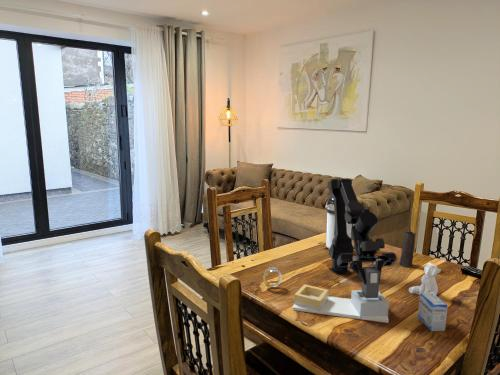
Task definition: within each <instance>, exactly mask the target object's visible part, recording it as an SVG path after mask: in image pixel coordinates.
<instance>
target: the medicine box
mask: <svg viewBox="0 0 500 375" xmlns="http://www.w3.org/2000/svg"><path fill="white" fill-rule="evenodd" d="M417 310H418V312H417V318H418V320H419V321H420V322H421V323H423V325H424V326H426V327H427V328H428V329H429V330H430V331H431V332H444V331H446V323H447V313H448V304H447V303H446V302H445V301H443V300H442V299H441V298H440V297H439V296H437V295H434V294H433V293H420V295H419V303H418V309H417Z"/></svg>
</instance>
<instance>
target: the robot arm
mask: <svg viewBox="0 0 500 375" xmlns="http://www.w3.org/2000/svg"><path fill="white" fill-rule="evenodd" d="M352 184H353V180H352V178H331V179H330V180H329V181H328V182H327V189H328V190H329V195H330V196H331V197H332V198H333V199H334V213H335V233H336V234H335V236H334V238H333V240H332V245H331V247H330V249H329V248H328V256H329V257H330V259H331V260H332V261H331V263H332V264H331V267H329V268H328V270H330V271H331V272H333V273H334V274H336V275H343V274H347V273H351V270H352V271H353V272H354V274H356V275H357V276H358V278H359V280H360V281H361V283H362V282H363V284H364V285H366V278H365V275H364V271H363V263H373V266H372V267H376V268H377V269H378V270H379V271H380V278H379V285H380V283H381V276H382V270H383V267H391V266H393V265H394V264H395V262H396V261H398V257H397V254H396V253H395V252H394V251H386V252H385V251H384V252H382V253H381V254H380V255H377V254H378V252H380V251H381V250H382V249H385V246H386V244H385V240H384V238H381V237H380V238H376V239H375V240H373V239H372V238H371V236H370V233H371V232H372V231H373V230H374V228H375V227H376V225H377V224H378V221H379V220H378V216H376V214H375V213H373V212H371V211H370V209H369V208H365V205H363V203H360V202H359V200H358V197H357V194H356V192H355V189H354V187H353V185H352ZM345 205H346V208H345ZM346 221H347V223H348V224H353V227H352V228H351V234H352V237H353V240H352V239H351V238H349V236H348V235H347V226H346ZM353 250H354V252H355V254H356V255H353V254H354V252H353Z"/></svg>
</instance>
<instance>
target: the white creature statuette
mask: <svg viewBox="0 0 500 375" xmlns="http://www.w3.org/2000/svg"><path fill="white" fill-rule="evenodd" d="M423 269H424V271H423V272H424V274H423V276H422V277H421V279H420V282H421V284H420V285H415V286H413V285H412V287H411V286H410V287H409V288H408V292H409V293H410V294H413V295H418V296H420V293H433V294H434V295H436V296H437V295H438V292H439V287H438V285H437V278H436V276H438V275H437V274H439V273H441V271H442V269H439V267H438V266H437V265H436V264H433V263H432V262H431V263H430V262H426V265H425V266H424V267H423Z"/></svg>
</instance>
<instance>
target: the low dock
mask: <svg viewBox="0 0 500 375" xmlns="http://www.w3.org/2000/svg"><path fill="white" fill-rule="evenodd" d="M329 292H330V290H329V289H326V288H321V287H318V286H317V287H316V286H313V285H309V284H306V283H305V284H302V286H301V287H300V288H299V289H298V290H296V292H295V293H294V295H293V297H294V298H293V302H294V303H293V305H294V304H296V305H300V306H303V307H307V308H311V309H314V310H318V311H319V314H320V310H321V308H322V307H323V306H324V305H325V303H326V302H327V301H328V297H330V296H329V294H330V293H329ZM320 315H321V314H320Z"/></svg>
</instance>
